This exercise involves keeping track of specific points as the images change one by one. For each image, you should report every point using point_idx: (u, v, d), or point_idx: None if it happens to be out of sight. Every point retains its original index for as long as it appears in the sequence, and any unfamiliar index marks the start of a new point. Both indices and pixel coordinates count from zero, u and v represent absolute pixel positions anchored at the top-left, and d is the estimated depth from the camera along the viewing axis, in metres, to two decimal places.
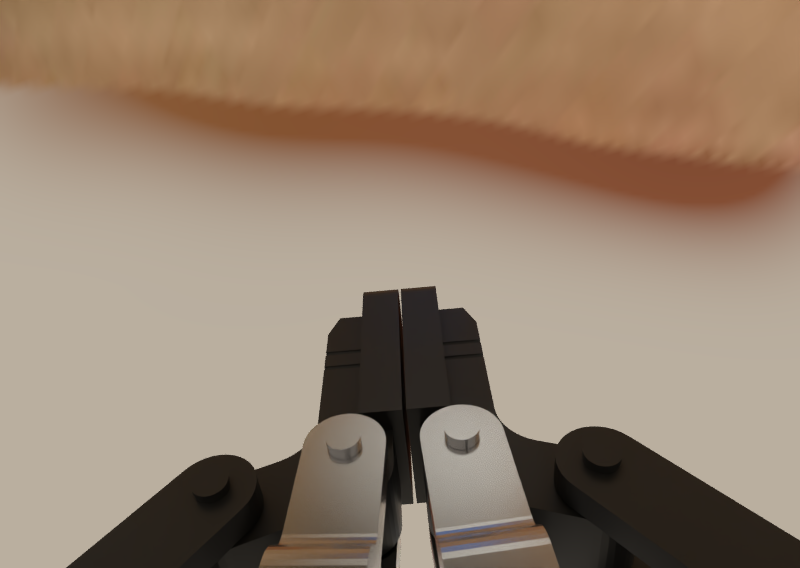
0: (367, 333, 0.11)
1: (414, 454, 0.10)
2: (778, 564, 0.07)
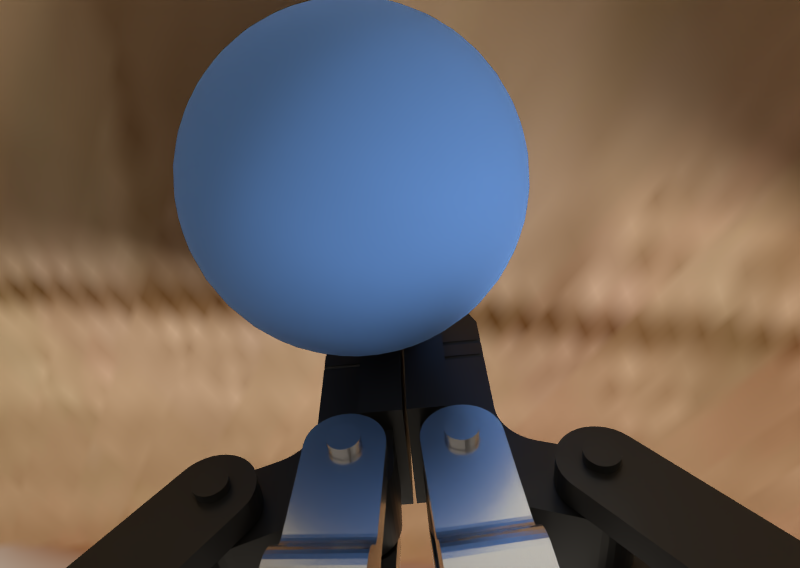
0: None
1: (414, 454, 0.10)
2: (778, 564, 0.07)
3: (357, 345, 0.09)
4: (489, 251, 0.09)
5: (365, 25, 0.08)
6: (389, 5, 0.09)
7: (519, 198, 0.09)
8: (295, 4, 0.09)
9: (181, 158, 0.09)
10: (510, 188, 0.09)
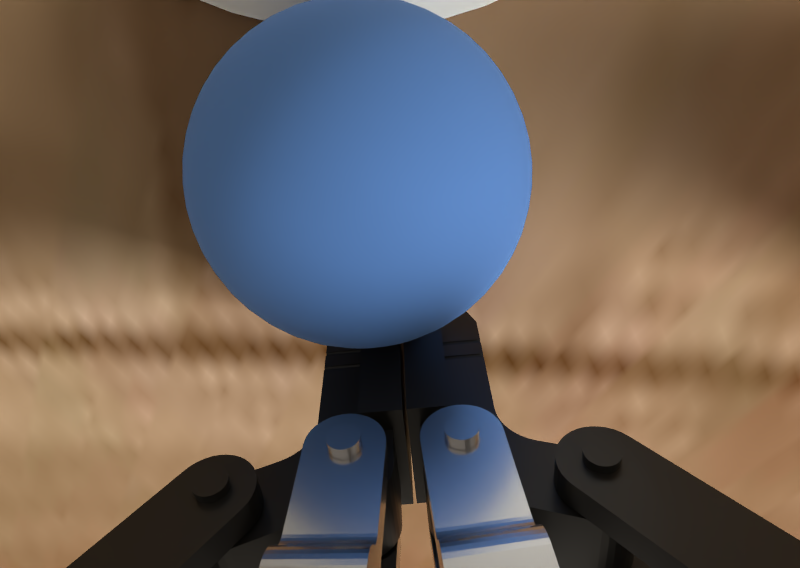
0: None
1: (414, 454, 0.10)
2: (778, 564, 0.07)
3: (334, 278, 0.08)
4: (480, 177, 0.08)
5: None
6: None
7: (515, 147, 0.09)
8: None
9: None
10: (502, 126, 0.09)
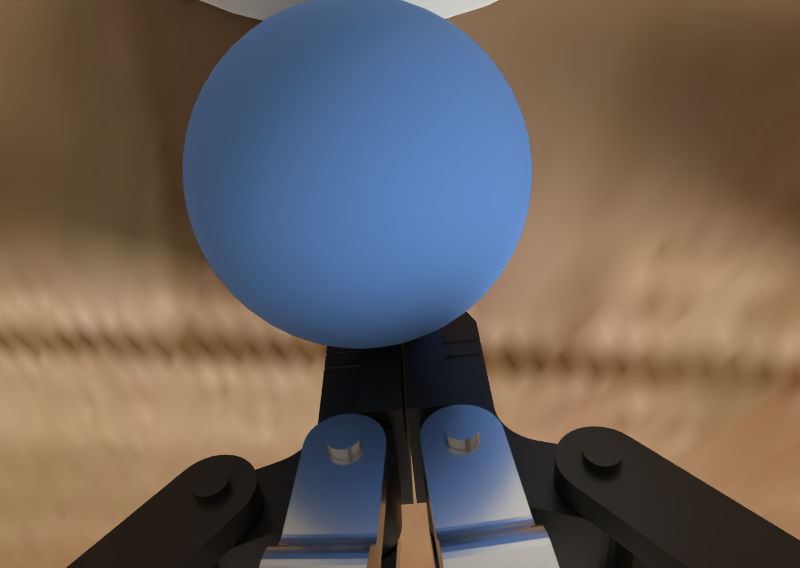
0: None
1: (414, 454, 0.10)
2: (778, 564, 0.07)
3: (334, 278, 0.08)
4: (480, 177, 0.08)
5: None
6: None
7: (515, 147, 0.09)
8: None
9: None
10: (502, 125, 0.09)
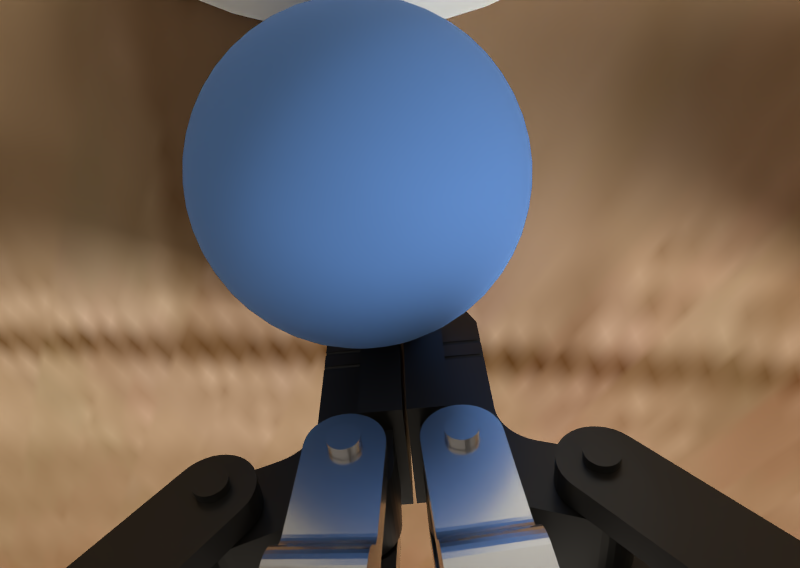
0: None
1: (414, 454, 0.10)
2: (778, 564, 0.07)
3: (334, 278, 0.08)
4: (480, 178, 0.08)
5: None
6: None
7: (515, 147, 0.09)
8: None
9: None
10: (502, 126, 0.09)
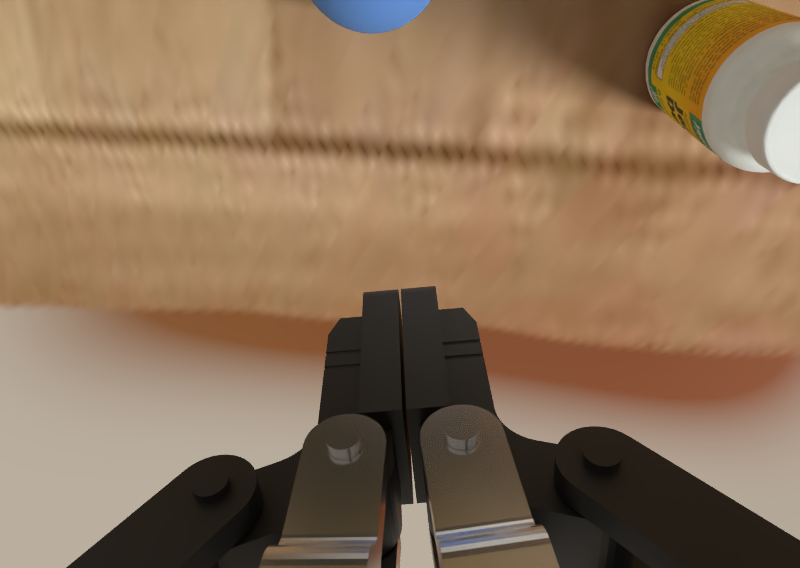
0: (367, 333, 0.11)
1: (414, 454, 0.10)
2: (778, 564, 0.07)
3: None
4: None
5: None
6: None
7: None
8: None
9: None
10: None
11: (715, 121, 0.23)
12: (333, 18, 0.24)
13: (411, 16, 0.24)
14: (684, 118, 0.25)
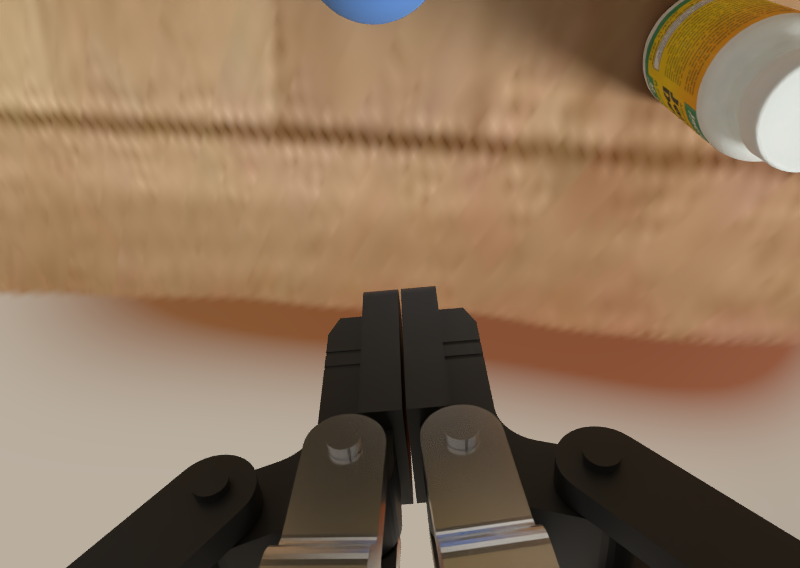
0: (367, 333, 0.11)
1: (414, 454, 0.10)
2: (778, 564, 0.07)
3: None
4: None
5: None
6: None
7: None
8: None
9: None
10: None
11: (709, 110, 0.23)
12: (335, 9, 0.24)
13: (412, 7, 0.24)
14: (679, 108, 0.26)
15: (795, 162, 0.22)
